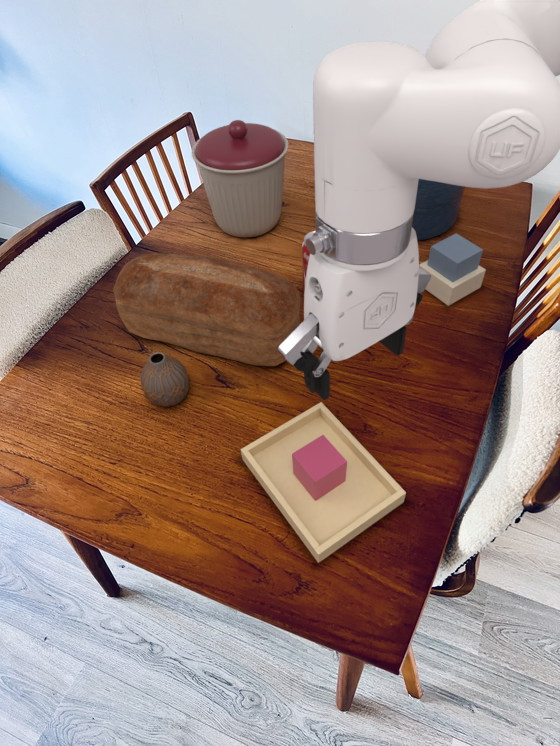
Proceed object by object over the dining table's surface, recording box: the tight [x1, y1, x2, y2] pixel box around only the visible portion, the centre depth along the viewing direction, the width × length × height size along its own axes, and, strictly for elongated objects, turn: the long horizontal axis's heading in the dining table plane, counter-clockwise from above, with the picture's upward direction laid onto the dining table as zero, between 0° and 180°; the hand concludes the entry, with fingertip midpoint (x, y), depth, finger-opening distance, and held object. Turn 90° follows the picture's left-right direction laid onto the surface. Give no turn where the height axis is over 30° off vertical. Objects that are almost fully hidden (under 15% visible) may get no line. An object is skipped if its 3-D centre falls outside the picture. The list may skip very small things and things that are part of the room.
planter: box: [412, 179, 466, 242], centre depth 101 cm, size 22×22×20 cm
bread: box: [112, 252, 301, 367], centre depth 83 cm, size 12×31×14 cm, turn 70°
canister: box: [191, 119, 289, 239], centre depth 101 cm, size 18×18×21 cm
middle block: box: [427, 233, 484, 282], centre depth 88 cm, size 6×6×4 cm
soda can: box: [301, 230, 316, 294], centre depth 89 cm, size 5×5×12 cm
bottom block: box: [419, 259, 487, 307], centre depth 92 cm, size 8×8×4 cm
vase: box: [140, 351, 190, 408], centre depth 77 cm, size 7×7×9 cm
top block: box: [292, 435, 347, 501], centre depth 67 cm, size 5×5×5 cm
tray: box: [240, 401, 407, 564], centre depth 68 cm, size 18×14×3 cm
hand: (354, 368), depth 54 cm, fingers open, 9 cm apart
